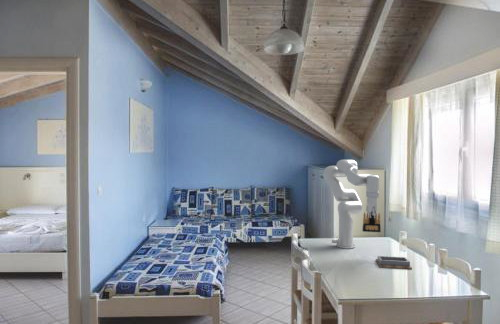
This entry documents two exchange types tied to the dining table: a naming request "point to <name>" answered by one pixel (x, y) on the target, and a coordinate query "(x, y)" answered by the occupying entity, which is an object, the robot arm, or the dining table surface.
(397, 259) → the pocket board
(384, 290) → the dining table surface
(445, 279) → the dining table surface
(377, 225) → the ammunition clip
